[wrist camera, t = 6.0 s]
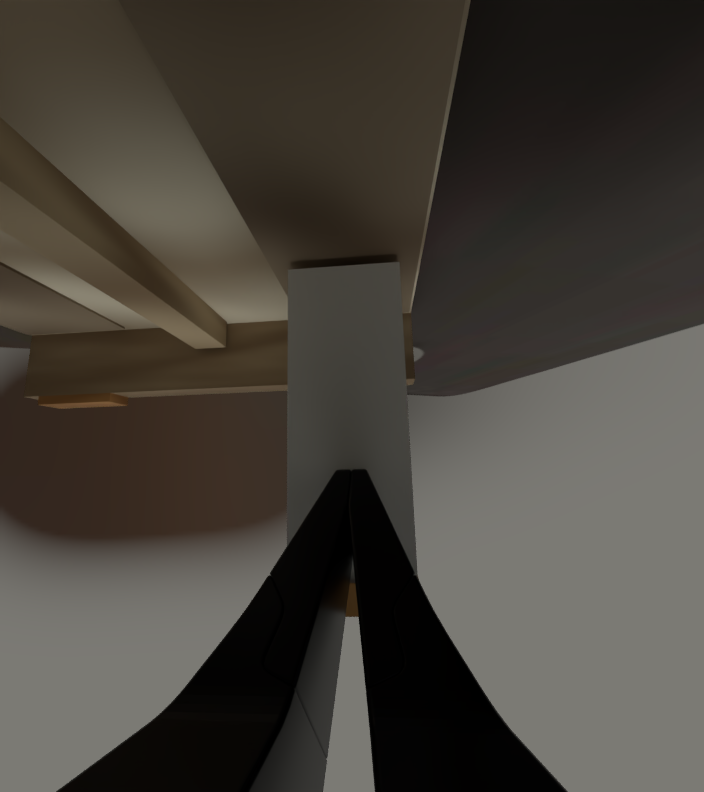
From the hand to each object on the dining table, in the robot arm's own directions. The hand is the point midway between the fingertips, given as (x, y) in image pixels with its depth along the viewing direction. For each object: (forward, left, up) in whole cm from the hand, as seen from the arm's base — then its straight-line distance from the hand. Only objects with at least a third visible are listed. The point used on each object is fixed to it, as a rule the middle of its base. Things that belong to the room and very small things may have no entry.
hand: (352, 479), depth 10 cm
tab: (+1, -2, -6) cm, 7 cm away
